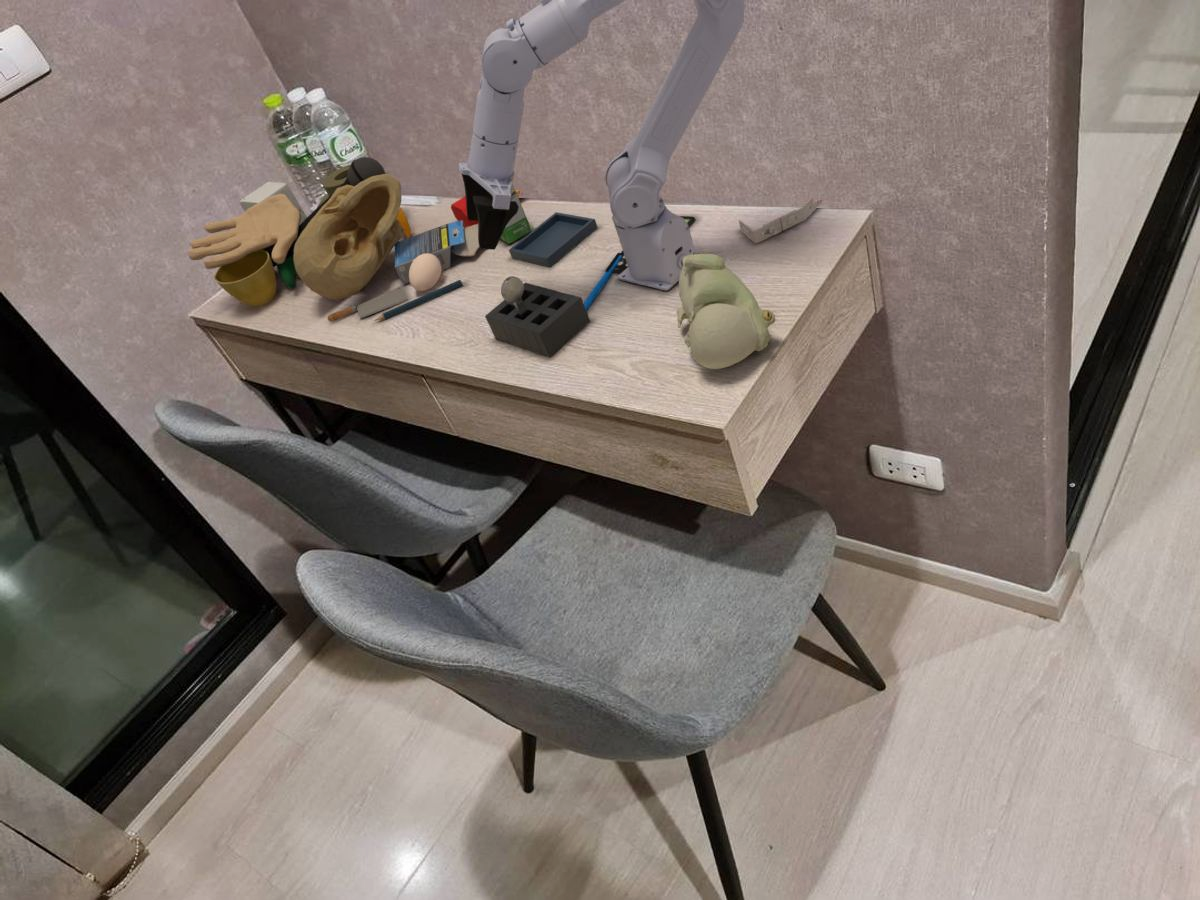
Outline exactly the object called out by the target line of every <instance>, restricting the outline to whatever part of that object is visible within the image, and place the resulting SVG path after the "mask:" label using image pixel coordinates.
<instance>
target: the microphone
mask: <svg viewBox="0 0 1200 900" xmlns="http://www.w3.org/2000/svg"><path fill="white" fill-rule="evenodd" d="M350 164H351V165H350ZM350 164H349V165H350V167H349V169H348V177H347V178H346V180H345V182H344V183H343V184H342V185H341V186H340V187H342V186H345V185H351V186H356V185H357V184H359V183H360V182H362V181H364V180H366V179H368V178H370V177H372V176H376V175H382V174H385V173H386V171H385V169H384V167H383V165H382V164H381V163H380V162H379V161H378V160H376V159H374V158H372V157H369V156H362V157H359V158H356V159H353V160H352V161H351V162H350ZM333 193H334V192H333ZM333 193H332V194H331V195H330V196H329V197H328V198H327V199H326V200H325V201H324V202H323V203H322V204H321V205H320V206H319V207H318V208H317V209H316V210H314V211H313V212H312V213H311V212H310V214H309V215H308V216H307V218H306V219H305V220H304V221H303V222H302V223H301V224H300V225H299V228H298V236H300V235H301V233H302V232H303V230H304V229H305V227H306V226H307V225H308V223H309V222H310V221H311V219H312V218H313V217H314V216H315V215H316V214H317V212H318V211H319V210H320V209H321V208H322V206H323V205H324V204H325V203H326V202H327V201H328V200H329V199H330V198H331V196H332V195H333Z"/></svg>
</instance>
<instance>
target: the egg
mask: <svg viewBox="0 0 1200 900" xmlns="http://www.w3.org/2000/svg"><path fill="white" fill-rule="evenodd" d="M441 275H442V271H441V265H440V261H439V260H438V258H437V257H436V256H434V255H432V254H429V253H426V254H422V255H419V256H418V257H416V258H415V259H414V261H413V262H412V264H411V266H410V270H409V280H410V283H409V284H410V285H411V287H412V288H413V289H414V290H416V291H419V292H424V291H425V292H426V291H428V290H429V289H432V288H433V287H434V286H435V285H436V284H437V282H438V281H439V280H440V278H441Z"/></svg>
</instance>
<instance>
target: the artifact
mask: <svg viewBox="0 0 1200 900" xmlns="http://www.w3.org/2000/svg"><path fill="white" fill-rule="evenodd" d="M463 230H464V240H465V242H464V243H461V244H457V245H453V246H451V248H450V250H451V251H452V253H453V254H454V255H456V256H459V257H474V256H475V255H476V253H477V251H478V250H479V249H480V247H479V242H478V224H475V225H473V226H470V227H466V226H465V227H463ZM457 233H458V232H455V233H453V236H454V237H455V236H457Z"/></svg>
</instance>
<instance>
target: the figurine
mask: <svg viewBox="0 0 1200 900" xmlns="http://www.w3.org/2000/svg"><path fill="white" fill-rule="evenodd" d="M682 262H683V268H682V271H681V274H680V277H679V281H678V293H679V294H678V295H679V299H680V303H681V305H682V306H680V307H679V308H678V309H677V311H676V314H677V322H678V324H677V328H678V329H680V328H681V327H682V325H683V321H684V320H685V319H686V320H688V322H689V323H690V324H689V329H688V331H687V333H686V335H685V336H684V344H685V346H687V348H690V352H691V354H692V357H693V359H694V360H695V362H697V364H698V365H700V366H701V367H703V368H706V369H713V370H719V369H720V370H721V369H726V368H728V367H732V366H734V365H735V364H738V363H739V362H741V361H743V360H745V359H746V358H747V357H749V356H750V355H751V354H753V352H754V351H756V352H761V351H763V350H764V349H766V348H767V347H768V345H769V342H770V341H771V340H772V339H773V338H772V336H771V335H770V333H769V330H768V328H769V327H770V326H772V325H773V324H775V322H776V321H777V319H776V315H775V314H774V312H773V311H772V310H770V309H766V308H760V306H759V303H758V302H757V299H756V298H755V296H754V294H753V292H751V290H750V289H749V288H748V287H747V285H746V283H744V281H742V280H741V279H740V277H739V276H737V274H736V273H734V272H733V271H732V270H730V269H729V268H727V267H726V263H725V261H724V259H723V258H722V257H721V256H719V255H716V254H713V253H696V254H694V255H687V256H685V257H684V258H683V259H682Z"/></svg>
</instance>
